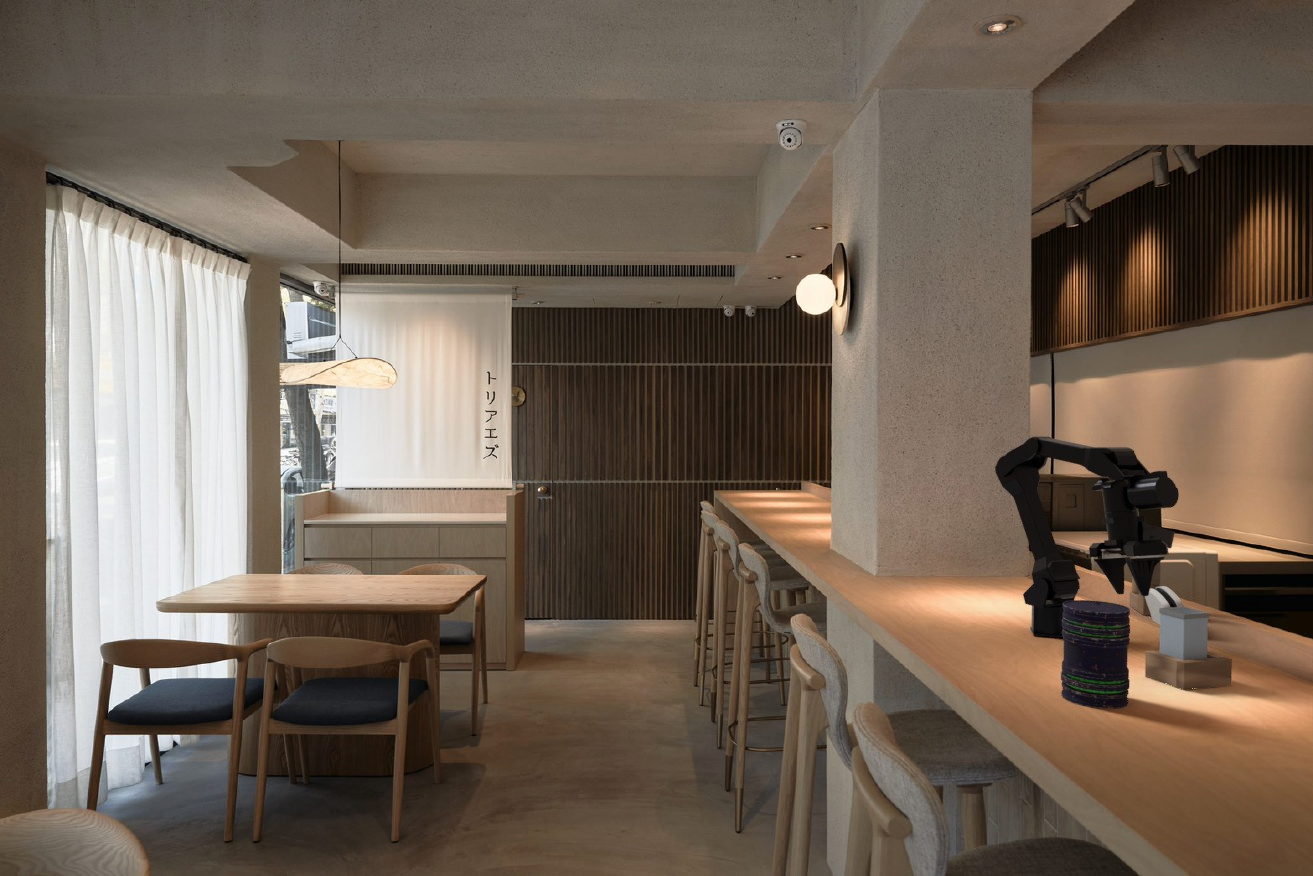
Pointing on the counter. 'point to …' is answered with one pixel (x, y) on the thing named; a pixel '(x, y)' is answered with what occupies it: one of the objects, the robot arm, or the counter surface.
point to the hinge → (1161, 601)
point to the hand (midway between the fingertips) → (1132, 595)
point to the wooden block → (1139, 601)
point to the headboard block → (1189, 670)
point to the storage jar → (1095, 654)
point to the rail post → (1183, 633)
